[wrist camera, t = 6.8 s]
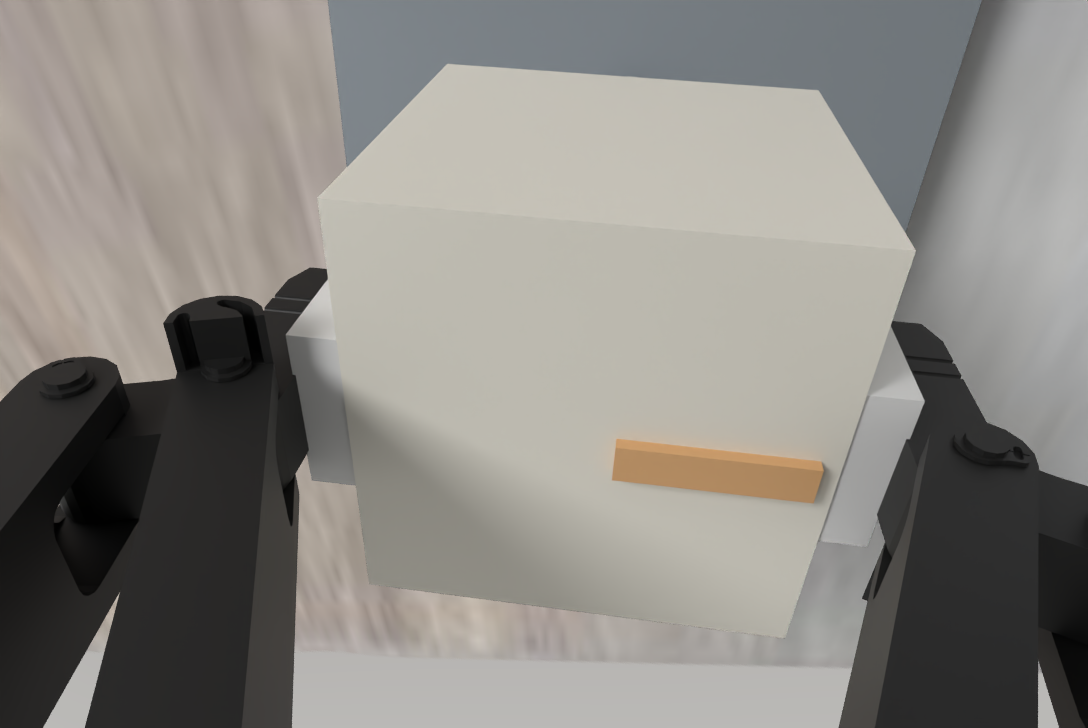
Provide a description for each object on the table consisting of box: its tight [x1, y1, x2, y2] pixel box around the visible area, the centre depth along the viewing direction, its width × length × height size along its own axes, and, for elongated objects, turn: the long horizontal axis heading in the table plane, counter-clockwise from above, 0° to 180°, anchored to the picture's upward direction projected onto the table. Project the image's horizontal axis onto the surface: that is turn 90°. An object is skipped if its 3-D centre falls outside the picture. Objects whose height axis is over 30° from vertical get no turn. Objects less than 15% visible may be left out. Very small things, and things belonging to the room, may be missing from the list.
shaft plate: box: [328, 0, 982, 232], centre depth 22 cm, size 12×18×6 cm, turn 88°
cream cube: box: [317, 64, 916, 639], centre depth 14 cm, size 7×7×7 cm
